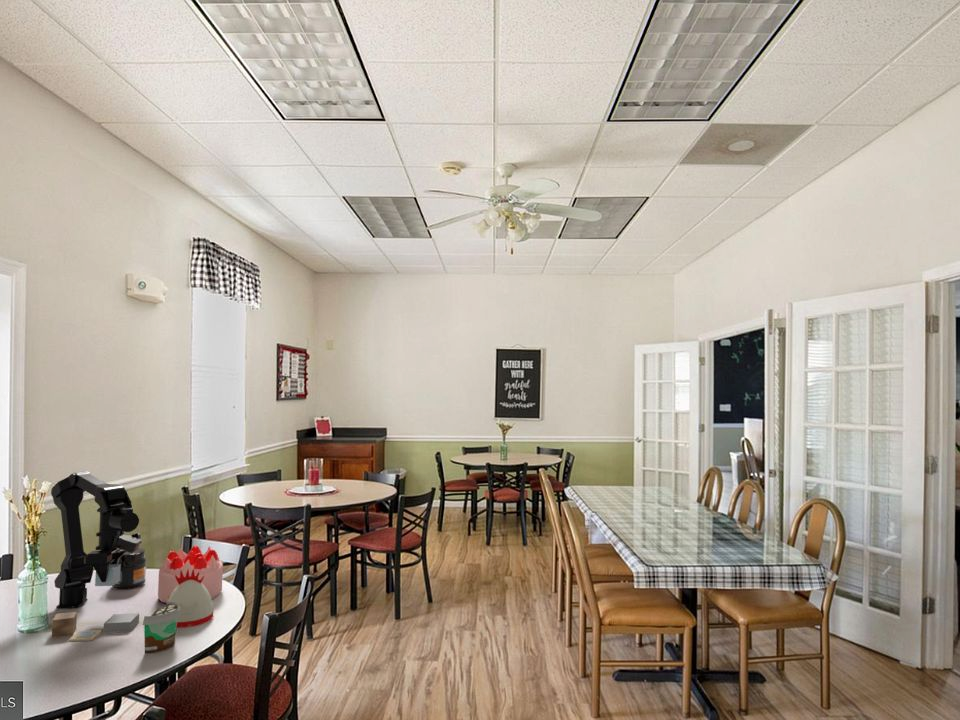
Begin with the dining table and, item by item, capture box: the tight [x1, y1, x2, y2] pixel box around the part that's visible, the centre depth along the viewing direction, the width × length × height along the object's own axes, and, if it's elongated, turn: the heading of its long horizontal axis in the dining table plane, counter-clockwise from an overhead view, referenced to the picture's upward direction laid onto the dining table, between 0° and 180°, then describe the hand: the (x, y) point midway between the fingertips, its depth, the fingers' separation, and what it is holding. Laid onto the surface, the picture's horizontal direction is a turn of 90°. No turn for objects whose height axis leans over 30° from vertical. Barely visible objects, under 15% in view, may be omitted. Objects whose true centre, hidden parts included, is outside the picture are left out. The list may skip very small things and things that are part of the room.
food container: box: [142, 602, 181, 654], centre depth 168 cm, size 12×6×10 cm, turn 179°
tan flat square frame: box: [68, 629, 103, 642], centre depth 173 cm, size 6×6×1 cm
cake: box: [157, 545, 224, 604], centre depth 208 cm, size 20×20×14 cm
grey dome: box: [168, 569, 214, 629], centre depth 187 cm, size 14×14×15 cm
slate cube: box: [94, 564, 121, 587], centre depth 188 cm, size 5×5×5 cm
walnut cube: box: [51, 611, 78, 639], centre depth 174 cm, size 5×5×5 cm
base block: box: [103, 612, 140, 634], centre depth 180 cm, size 7×7×3 cm
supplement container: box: [111, 547, 148, 591], centre depth 216 cm, size 10×10×12 cm
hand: (107, 579), depth 188 cm, fingers closed on slate cube, 5 cm apart
